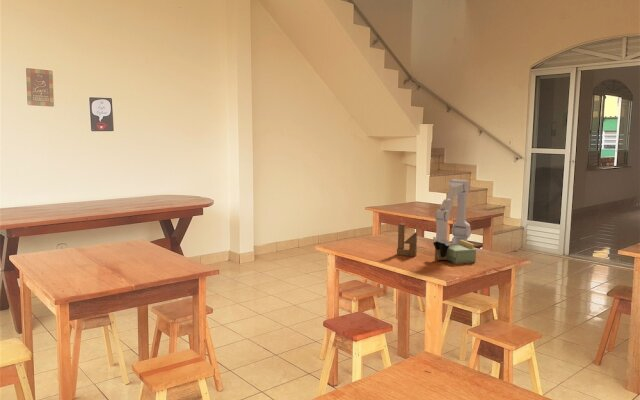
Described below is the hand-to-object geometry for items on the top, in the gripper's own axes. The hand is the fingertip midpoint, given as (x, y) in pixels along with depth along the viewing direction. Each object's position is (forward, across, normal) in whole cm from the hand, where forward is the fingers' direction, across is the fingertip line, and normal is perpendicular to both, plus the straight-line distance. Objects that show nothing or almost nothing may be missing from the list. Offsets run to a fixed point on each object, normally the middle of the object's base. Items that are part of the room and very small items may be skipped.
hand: (440, 256), depth 292 cm
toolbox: (+3, 0, +11) cm, 11 cm away
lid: (-1, 0, +10) cm, 10 cm away
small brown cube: (+2, 0, 0) cm, 2 cm away
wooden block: (+3, -17, -12) cm, 21 cm away
